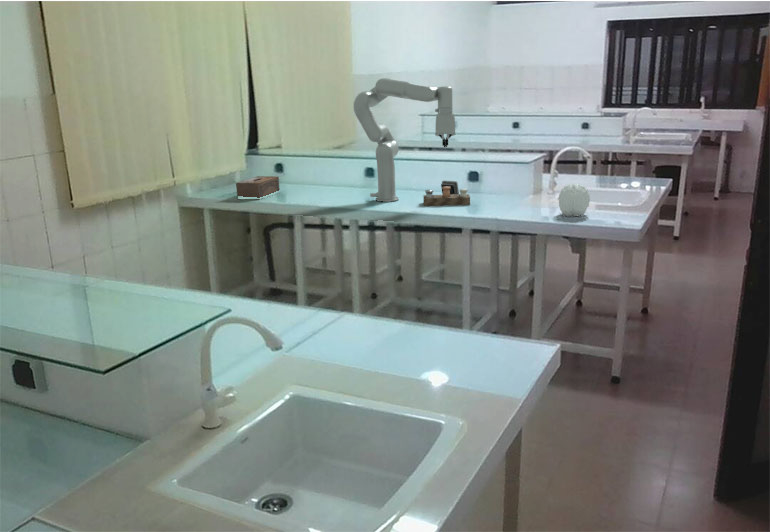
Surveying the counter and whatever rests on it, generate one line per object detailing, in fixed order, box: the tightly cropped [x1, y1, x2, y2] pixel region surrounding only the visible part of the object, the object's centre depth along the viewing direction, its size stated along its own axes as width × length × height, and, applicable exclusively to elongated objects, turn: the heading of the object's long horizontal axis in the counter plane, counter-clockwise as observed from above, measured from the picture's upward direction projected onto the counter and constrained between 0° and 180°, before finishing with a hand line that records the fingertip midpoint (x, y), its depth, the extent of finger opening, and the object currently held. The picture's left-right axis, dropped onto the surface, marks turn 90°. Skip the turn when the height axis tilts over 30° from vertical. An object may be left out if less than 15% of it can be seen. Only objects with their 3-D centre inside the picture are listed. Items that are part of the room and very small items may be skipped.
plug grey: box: [425, 189, 434, 197], centre depth 344 cm, size 4×4×7 cm
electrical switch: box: [440, 180, 460, 195], centre depth 362 cm, size 9×5×9 cm, turn 57°
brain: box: [557, 183, 591, 217], centre depth 307 cm, size 14×18×18 cm
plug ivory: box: [459, 188, 469, 197], centre depth 343 cm, size 4×4×7 cm
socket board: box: [423, 193, 471, 207], centre depth 344 cm, size 24×10×4 cm, turn 88°
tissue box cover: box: [235, 175, 280, 198], centre depth 387 cm, size 26×14×10 cm, turn 163°
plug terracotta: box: [441, 186, 450, 197], centre depth 343 cm, size 4×4×7 cm
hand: (445, 146), depth 343 cm, fingers closed
